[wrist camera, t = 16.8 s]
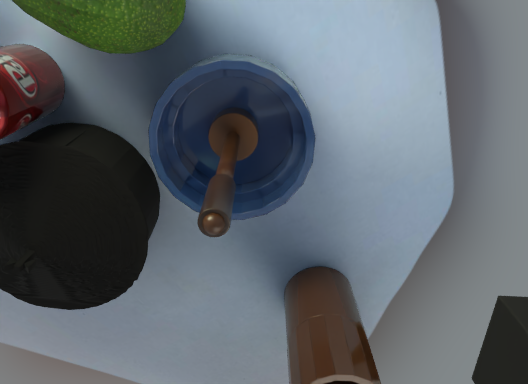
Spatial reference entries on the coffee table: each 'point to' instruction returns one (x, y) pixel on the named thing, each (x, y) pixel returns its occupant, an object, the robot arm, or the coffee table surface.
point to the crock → (325, 331)
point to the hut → (74, 216)
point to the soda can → (27, 86)
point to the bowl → (201, 117)
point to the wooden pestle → (226, 167)
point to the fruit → (110, 21)
